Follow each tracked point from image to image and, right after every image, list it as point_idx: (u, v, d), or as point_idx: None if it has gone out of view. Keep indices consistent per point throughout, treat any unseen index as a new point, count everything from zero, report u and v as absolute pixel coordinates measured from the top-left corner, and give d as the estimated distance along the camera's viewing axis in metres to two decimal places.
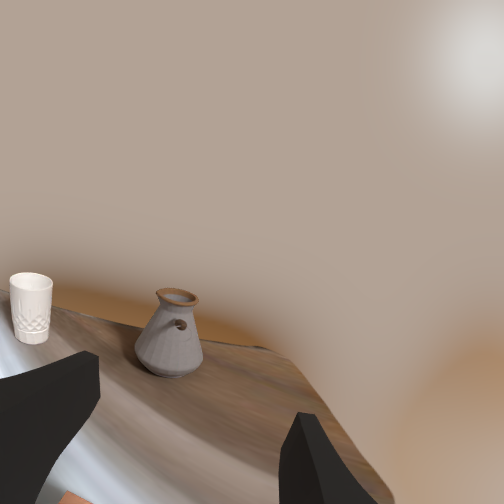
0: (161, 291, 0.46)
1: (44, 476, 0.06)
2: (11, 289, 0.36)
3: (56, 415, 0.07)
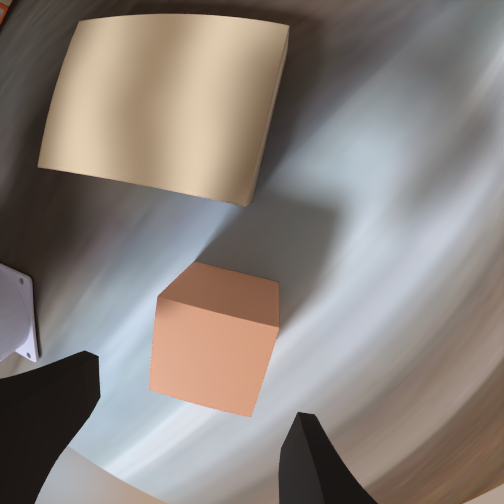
0: None
1: (45, 477, 0.06)
2: None
3: (56, 415, 0.07)
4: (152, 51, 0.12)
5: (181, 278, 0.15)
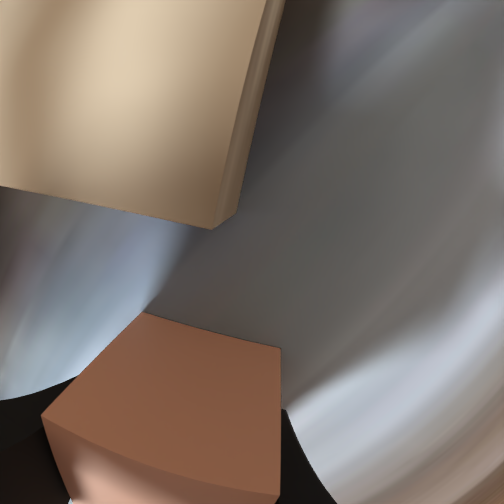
0: None
1: None
2: None
3: None
4: None
5: (102, 360, 0.07)
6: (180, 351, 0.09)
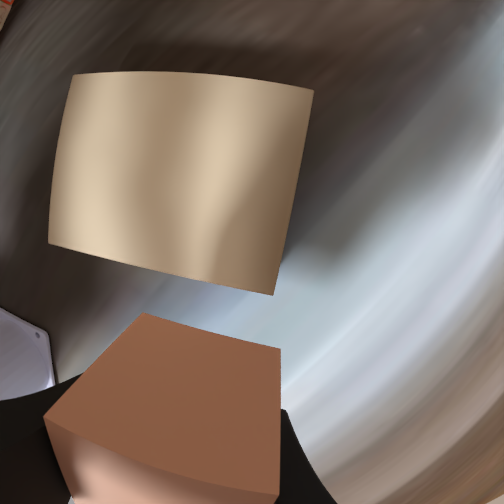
0: None
1: None
2: None
3: None
4: (161, 120, 0.12)
5: (104, 361, 0.07)
6: (181, 352, 0.09)
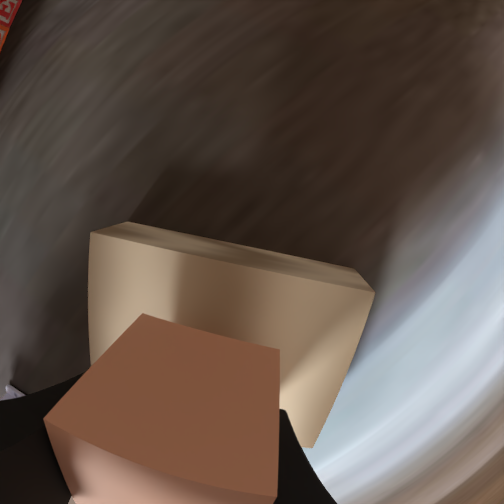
0: None
1: None
2: None
3: None
4: (211, 316, 0.12)
5: (103, 362, 0.07)
6: (180, 353, 0.09)
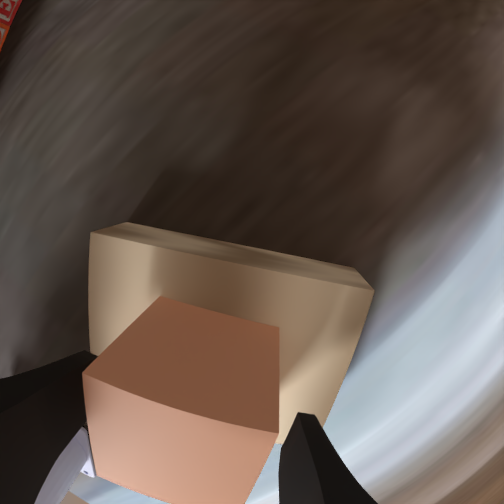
0: None
1: (45, 477, 0.06)
2: None
3: (56, 415, 0.07)
4: None
5: (131, 331, 0.09)
6: (195, 326, 0.11)
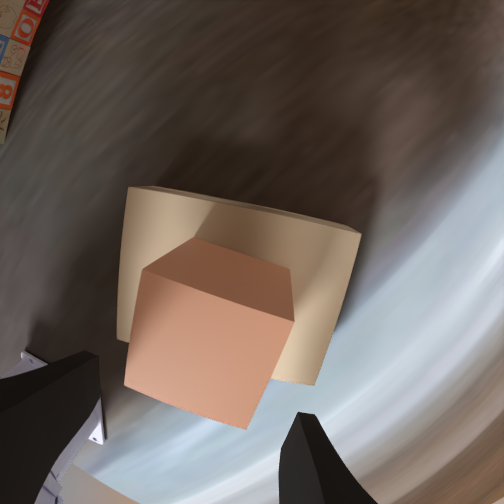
0: None
1: (44, 477, 0.06)
2: None
3: (56, 415, 0.07)
4: None
5: (175, 252, 0.12)
6: (224, 257, 0.13)
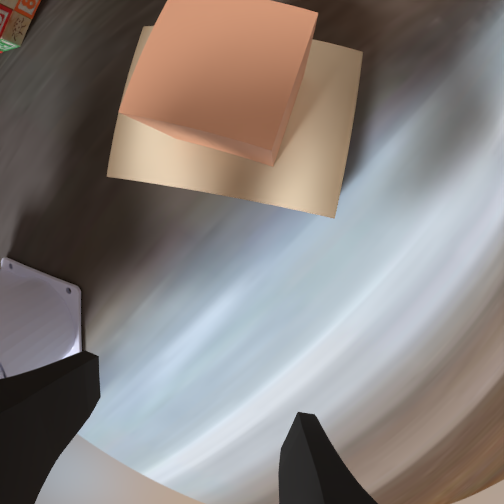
0: None
1: (44, 477, 0.06)
2: None
3: (56, 415, 0.07)
4: None
5: None
6: None
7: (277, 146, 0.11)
